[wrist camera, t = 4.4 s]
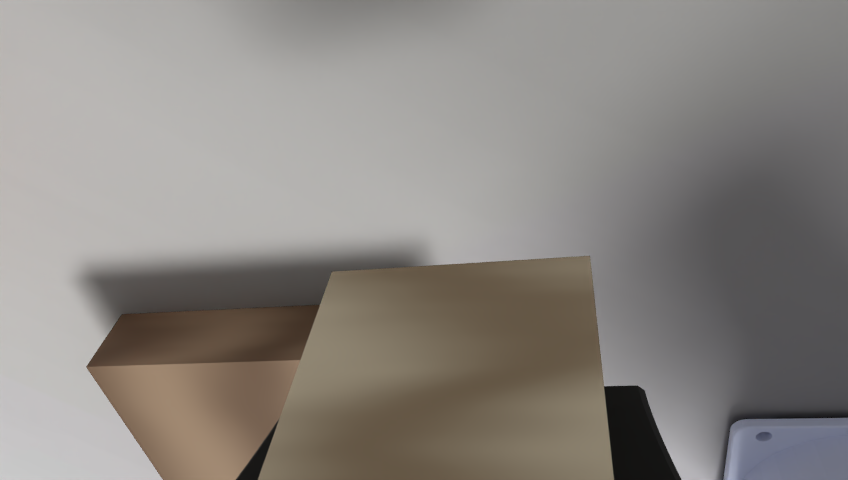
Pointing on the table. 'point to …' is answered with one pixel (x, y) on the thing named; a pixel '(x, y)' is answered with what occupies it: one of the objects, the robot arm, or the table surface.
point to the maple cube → (449, 377)
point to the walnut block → (202, 383)
